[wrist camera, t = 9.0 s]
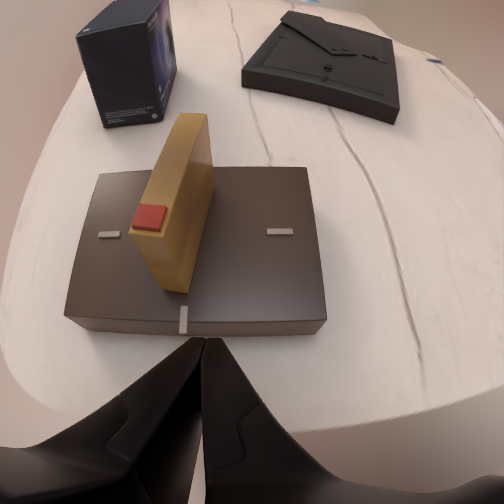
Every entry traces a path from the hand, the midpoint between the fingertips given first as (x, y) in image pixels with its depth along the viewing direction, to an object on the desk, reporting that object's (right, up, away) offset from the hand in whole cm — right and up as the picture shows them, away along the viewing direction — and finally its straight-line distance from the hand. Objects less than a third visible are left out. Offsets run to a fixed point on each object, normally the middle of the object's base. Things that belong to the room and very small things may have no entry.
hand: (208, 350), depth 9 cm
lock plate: (-2, +2, +11) cm, 12 cm away
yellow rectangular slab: (-2, +4, +9) cm, 10 cm away
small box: (-10, +19, +20) cm, 30 cm away
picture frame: (+11, +26, +24) cm, 37 cm away
